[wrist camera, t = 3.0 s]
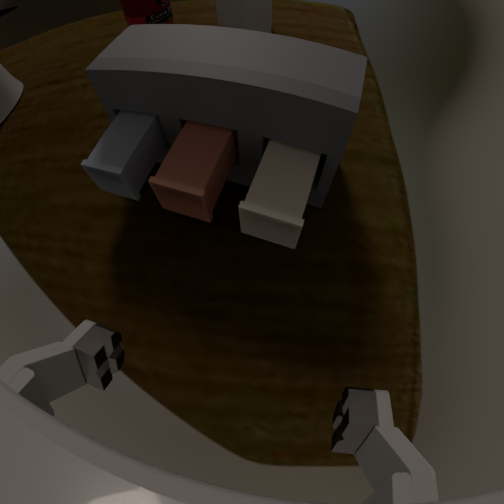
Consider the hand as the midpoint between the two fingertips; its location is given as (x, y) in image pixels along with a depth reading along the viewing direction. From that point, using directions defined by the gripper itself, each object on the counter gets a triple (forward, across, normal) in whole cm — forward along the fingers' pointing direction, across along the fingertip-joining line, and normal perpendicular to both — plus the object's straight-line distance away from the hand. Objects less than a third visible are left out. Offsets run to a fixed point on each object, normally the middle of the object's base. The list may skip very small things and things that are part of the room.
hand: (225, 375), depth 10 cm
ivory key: (+18, 0, -1) cm, 18 cm away
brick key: (+18, +7, -2) cm, 20 cm away
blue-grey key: (+18, +14, -3) cm, 24 cm away
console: (+25, +7, -4) cm, 26 cm away
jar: (+42, +12, -22) cm, 49 cm away
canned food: (+42, +28, -23) cm, 55 cm away
